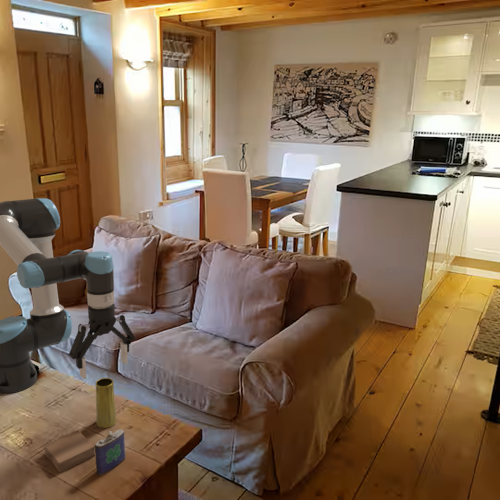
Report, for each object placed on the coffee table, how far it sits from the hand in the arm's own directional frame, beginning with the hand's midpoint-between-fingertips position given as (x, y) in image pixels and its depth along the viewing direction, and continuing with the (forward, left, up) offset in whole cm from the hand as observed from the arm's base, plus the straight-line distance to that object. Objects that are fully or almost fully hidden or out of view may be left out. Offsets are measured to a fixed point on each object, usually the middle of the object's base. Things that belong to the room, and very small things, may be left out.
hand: (104, 369), depth 145 cm
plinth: (+7, -15, -19) cm, 25 cm away
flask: (+18, -9, -19) cm, 28 cm away
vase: (0, 0, -19) cm, 19 cm away
